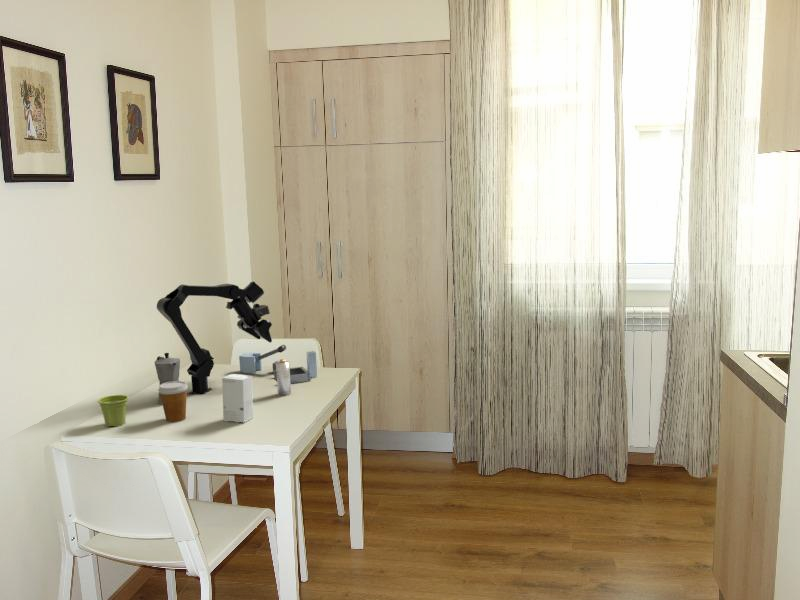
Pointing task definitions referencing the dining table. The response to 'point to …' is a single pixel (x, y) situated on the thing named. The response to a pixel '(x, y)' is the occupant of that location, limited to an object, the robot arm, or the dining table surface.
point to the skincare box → (237, 398)
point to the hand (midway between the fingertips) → (265, 340)
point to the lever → (271, 352)
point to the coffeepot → (167, 370)
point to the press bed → (303, 370)
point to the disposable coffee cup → (174, 400)
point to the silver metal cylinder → (283, 377)
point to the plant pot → (114, 409)
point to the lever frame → (251, 363)
